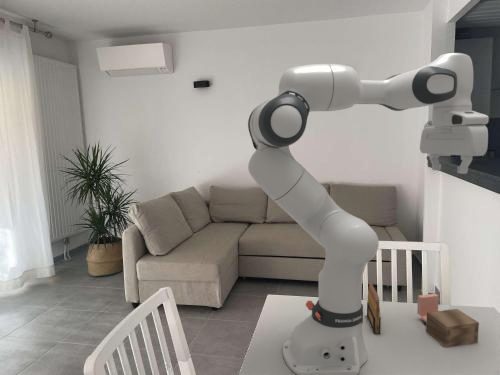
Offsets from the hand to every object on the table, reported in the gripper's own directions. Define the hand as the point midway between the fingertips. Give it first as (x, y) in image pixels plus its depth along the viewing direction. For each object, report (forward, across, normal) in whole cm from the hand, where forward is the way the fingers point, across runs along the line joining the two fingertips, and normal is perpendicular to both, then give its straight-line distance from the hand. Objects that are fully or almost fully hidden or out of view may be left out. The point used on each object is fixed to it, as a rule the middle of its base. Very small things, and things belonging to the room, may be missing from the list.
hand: (448, 171), depth 92 cm
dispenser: (+48, 0, +3) cm, 48 cm away
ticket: (+47, -4, +3) cm, 47 cm away
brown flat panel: (+48, -11, -15) cm, 51 cm away
